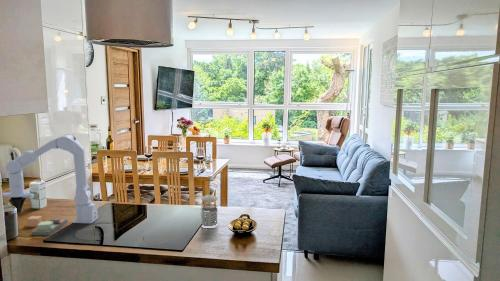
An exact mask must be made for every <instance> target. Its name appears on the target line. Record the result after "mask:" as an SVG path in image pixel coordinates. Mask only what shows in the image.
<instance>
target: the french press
mask: <svg viewBox="0 0 500 281" xmlns="http://www.w3.org/2000/svg"><path fill="white" fill-rule="evenodd" d="M207 179H209V183H208V184H209V188H208V189H209V194H206V195H204V196H202V197H201V201H203V202H202V204H201V206H200V207H201V208H200V209H201V214H200V216H201V223H202V225H204V226H213V225H216V224H217V223H218V206H217V205H216V204H213V203H211V202H215V201H218V199H219V197H217V195H212V194H211V193H210V192H211V180H212V176H211V175H209V176H207ZM204 202H208V203H204ZM215 221H216V222H215Z"/></svg>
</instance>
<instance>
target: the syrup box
mask: <svg viewBox="0 0 500 281" xmlns="http://www.w3.org/2000/svg"><path fill="white" fill-rule="evenodd" d="M28 185H29V188H28V189H29V193H33V194H34V198H31V199H30V198H29V199H30V208H31V209H35V210H37V209H39V210H40V209H43V208H45V207H48V203H47V202H48V200H47V190H46V189H47V188H46V181H45V180H33V181H30V182H29V184H28Z"/></svg>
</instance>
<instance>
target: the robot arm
mask: <svg viewBox="0 0 500 281" xmlns="http://www.w3.org/2000/svg"><path fill="white" fill-rule="evenodd" d="M53 149H54V150H58V149H60V150H63V151H66V152H69V153H70V154H72V155H73V162H74V163H73V164H74V175H75V185H76V187H75V196H74V199H73V200H74V203H75V216H76V217H75V218H76V219H75V220H73V221H72V223H73V224H93V223H94V222H95V221H96V220H97V219H99V215H98V212H99V211H98V204H97V203H93V202H92V200H91V197H92V195H93V194H92V190H91V189H90V185H89V184H88V175H87V163H86V162H87V161H86V154H85V153H86V152H85V147H84V146H83V145H82V144H81V142H79V140H78V138H77V137H76V136H74V135H72V134H69V133H66V134H64V135H63V136H62V135H61V136H60V137H56V138H54V139H52V140H49V141H48V142H46V143H45V144H43V145H42V146H40V147H38V148H37V149H35V150H26V151H24V152H23V154H21V155H19V156H15V157H14V159H13V160H10V161H9V162H8V163H6V164H5V169H6V171H7V172H8V184H9V192H2V193H1V194H2V195H3V198H2V199H4V198H10V199H8V201H9V202H10V204H11V205H12V207H13V206H15V207H16V208H17V213H16V214H19V213H21V212H22V210H23V207H24V206H23V205H24V203H25V201H26V199H31V198H34V194H33V193H30V192H25V182H24V181H25V180H24V169H25V168H27V167H28V166H30V165H32V164H34V163H35V162H37V161H38V160H39V157H40V156H42V155H43V154H45V153H47V152H48V151H51V150H53Z"/></svg>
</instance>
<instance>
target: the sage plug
mask: <svg viewBox="0 0 500 281" xmlns="http://www.w3.org/2000/svg"><path fill="white" fill-rule="evenodd" d="M53 225H54V223H53V221H50V220H49V221H48V220H47V221H43V222H40V223H39V224H38V227H37V231H49V230H50V227H52V226H53Z"/></svg>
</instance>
